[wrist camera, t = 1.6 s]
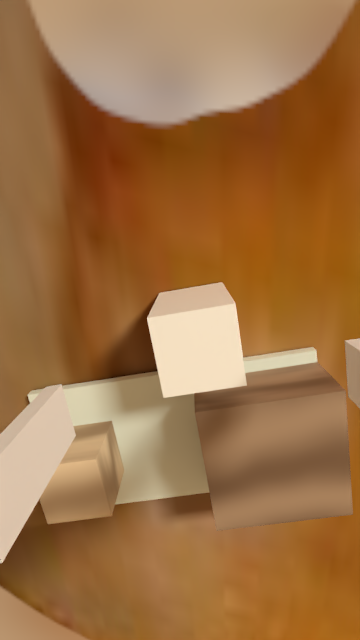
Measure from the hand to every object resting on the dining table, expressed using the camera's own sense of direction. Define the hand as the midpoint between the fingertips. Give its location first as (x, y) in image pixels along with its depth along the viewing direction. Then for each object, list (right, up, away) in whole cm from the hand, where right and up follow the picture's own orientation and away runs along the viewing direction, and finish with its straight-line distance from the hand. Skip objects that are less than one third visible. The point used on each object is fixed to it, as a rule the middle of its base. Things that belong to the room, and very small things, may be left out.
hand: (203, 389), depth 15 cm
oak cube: (-9, -8, +14) cm, 18 cm away
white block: (0, +3, +12) cm, 12 cm away
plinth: (+6, -6, +13) cm, 15 cm away
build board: (-1, -7, +14) cm, 16 cm away
